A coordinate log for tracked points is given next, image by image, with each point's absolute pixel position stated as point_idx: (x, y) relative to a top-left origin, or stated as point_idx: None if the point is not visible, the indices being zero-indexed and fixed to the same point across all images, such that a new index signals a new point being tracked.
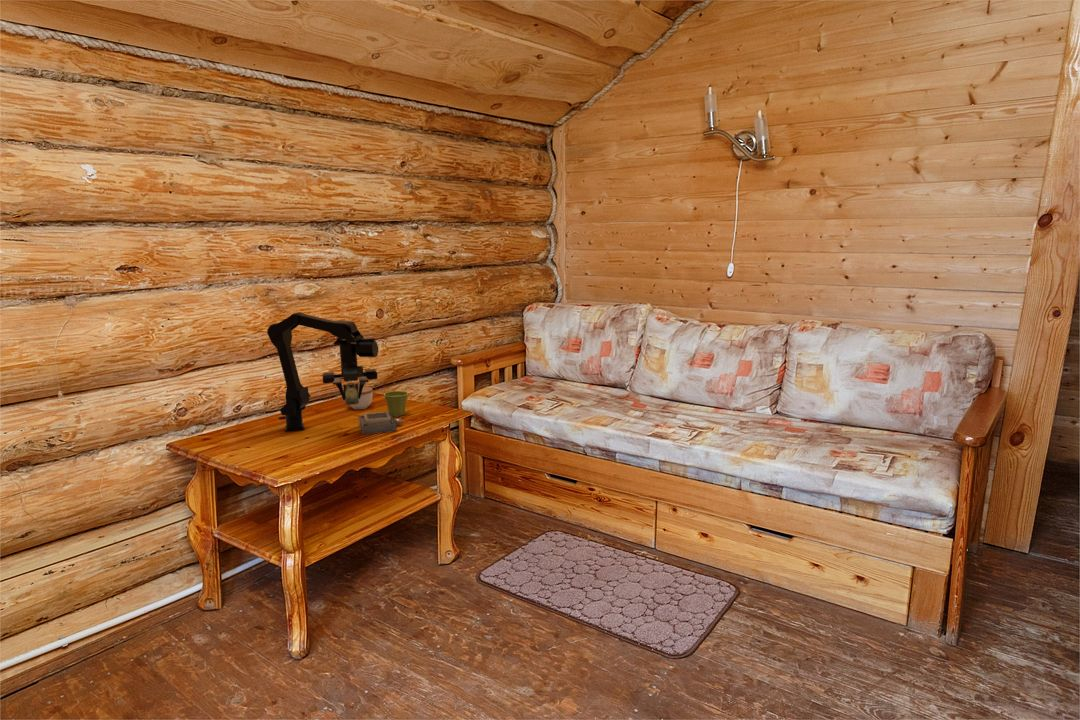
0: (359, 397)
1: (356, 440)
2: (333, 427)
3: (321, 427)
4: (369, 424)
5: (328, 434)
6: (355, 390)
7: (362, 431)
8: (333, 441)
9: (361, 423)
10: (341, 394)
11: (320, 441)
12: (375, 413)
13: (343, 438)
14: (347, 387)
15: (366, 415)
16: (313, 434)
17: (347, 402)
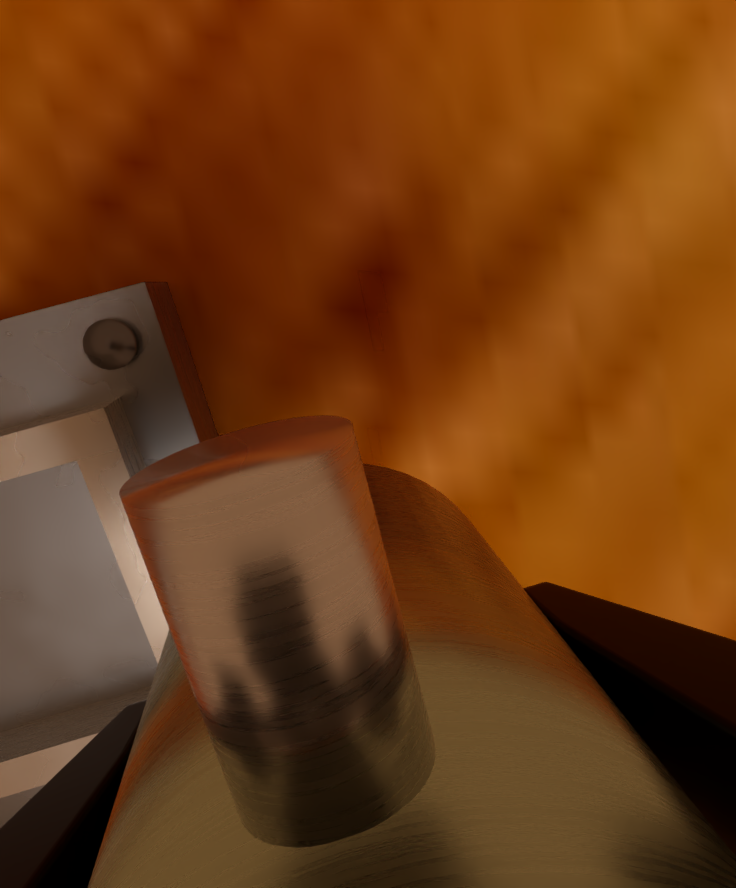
0: (131, 717)
1: (182, 27)
2: (556, 574)
3: (675, 578)
4: (58, 376)
5: (570, 324)
6: (147, 777)
7: (157, 283)
8: (468, 23)
9: (191, 432)
10: (673, 627)
11: (621, 46)
12: (52, 745)
13: (370, 141)
14: (561, 789)
15: (158, 648)
16: (727, 338)
17: (421, 489)
